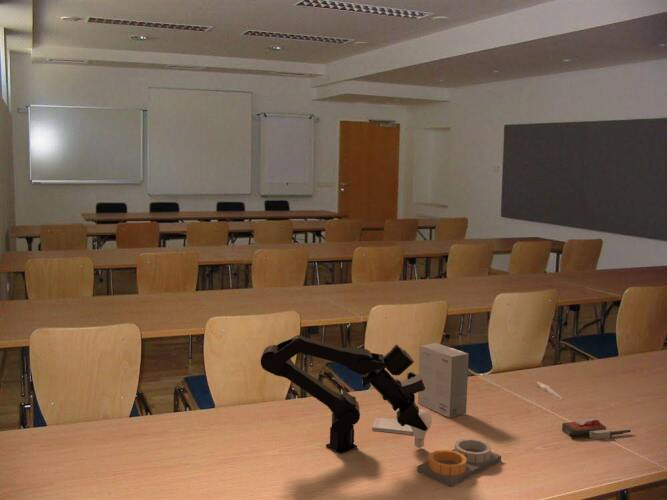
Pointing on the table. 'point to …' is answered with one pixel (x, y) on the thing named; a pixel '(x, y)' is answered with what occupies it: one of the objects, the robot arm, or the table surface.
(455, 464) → the bulb holder
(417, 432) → the lightbulb
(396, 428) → the hard drive
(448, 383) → the hard drive box
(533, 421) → the table surface
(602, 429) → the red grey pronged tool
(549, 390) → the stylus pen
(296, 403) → the table surface
